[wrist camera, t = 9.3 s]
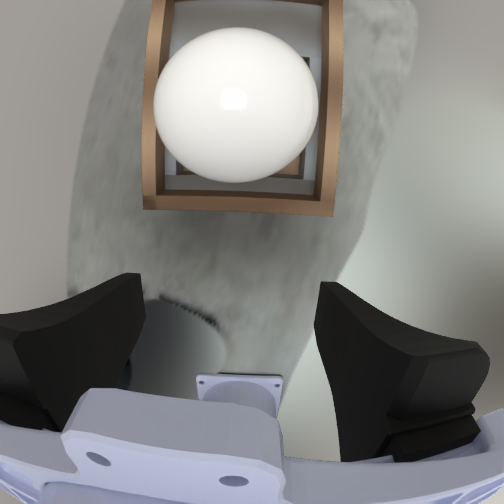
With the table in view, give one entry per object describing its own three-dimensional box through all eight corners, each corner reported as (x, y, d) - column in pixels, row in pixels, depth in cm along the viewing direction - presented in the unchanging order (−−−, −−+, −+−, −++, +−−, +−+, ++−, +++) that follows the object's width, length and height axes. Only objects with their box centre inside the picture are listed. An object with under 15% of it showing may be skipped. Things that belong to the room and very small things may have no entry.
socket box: (316, 199, 21) (332, 216, 17) (164, 194, 21) (143, 209, 16) (325, 12, 16) (342, -14, 11) (173, 7, 15) (155, -18, 11)
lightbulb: (182, 86, 17) (109, 41, 7) (277, 61, 17) (305, -14, 6) (207, 176, 20) (159, 221, 9) (302, 152, 19) (358, 171, 9)
